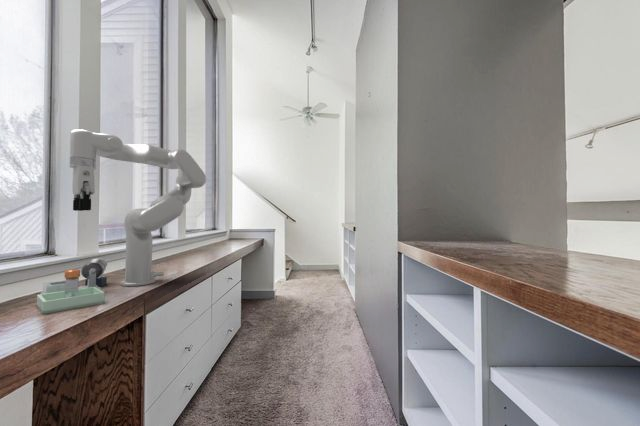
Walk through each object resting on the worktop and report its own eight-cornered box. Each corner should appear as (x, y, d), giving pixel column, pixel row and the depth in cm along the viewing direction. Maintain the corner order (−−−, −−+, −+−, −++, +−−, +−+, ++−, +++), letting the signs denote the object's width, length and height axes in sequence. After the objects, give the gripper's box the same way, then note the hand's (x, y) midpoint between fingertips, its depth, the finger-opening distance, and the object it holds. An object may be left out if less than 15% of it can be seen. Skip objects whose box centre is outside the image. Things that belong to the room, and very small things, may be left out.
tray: (94, 296, 101) (95, 286, 101) (104, 303, 94) (104, 292, 94) (36, 306, 90) (37, 294, 90) (42, 314, 82) (43, 302, 82)
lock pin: (77, 299, 94) (78, 269, 95) (80, 302, 92) (81, 270, 92) (61, 302, 91) (63, 270, 92) (64, 304, 89) (66, 271, 89)
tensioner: (97, 289, 112) (98, 260, 112) (104, 293, 106) (105, 263, 106) (40, 297, 99) (41, 265, 99) (45, 302, 93) (46, 268, 94)
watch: (108, 283, 121) (109, 257, 122) (98, 288, 113) (99, 259, 114) (93, 284, 120) (94, 257, 120) (82, 288, 112) (83, 260, 112)
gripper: (102, 163, 104) (100, 210, 104) (89, 168, 115) (88, 211, 115) (75, 159, 98) (74, 209, 98) (64, 165, 109) (63, 210, 109)
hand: (81, 210), depth 106 cm, fingers open, 9 cm apart
